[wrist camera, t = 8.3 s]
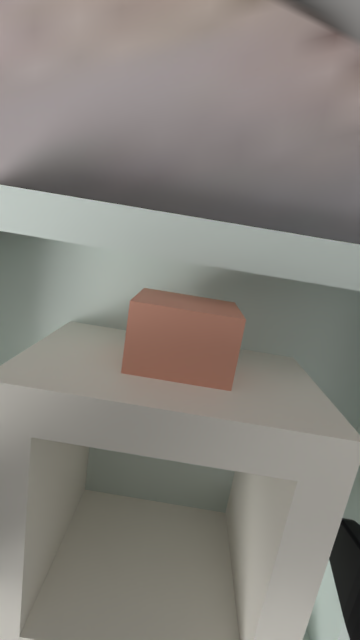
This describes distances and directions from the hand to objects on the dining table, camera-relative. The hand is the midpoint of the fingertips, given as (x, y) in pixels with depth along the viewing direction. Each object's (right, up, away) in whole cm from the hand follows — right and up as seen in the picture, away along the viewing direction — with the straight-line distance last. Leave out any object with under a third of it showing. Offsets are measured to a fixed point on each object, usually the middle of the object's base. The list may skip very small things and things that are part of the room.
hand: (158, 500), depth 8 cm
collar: (0, +1, +3) cm, 3 cm away
